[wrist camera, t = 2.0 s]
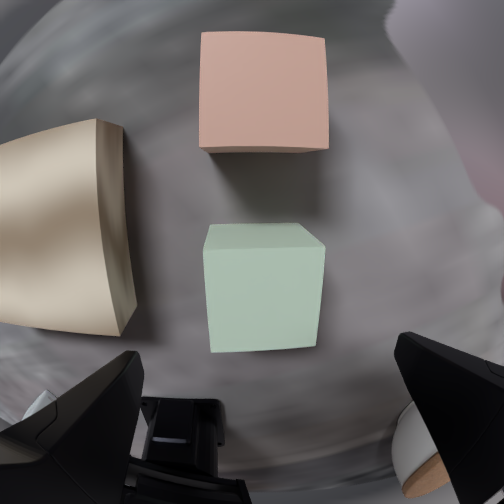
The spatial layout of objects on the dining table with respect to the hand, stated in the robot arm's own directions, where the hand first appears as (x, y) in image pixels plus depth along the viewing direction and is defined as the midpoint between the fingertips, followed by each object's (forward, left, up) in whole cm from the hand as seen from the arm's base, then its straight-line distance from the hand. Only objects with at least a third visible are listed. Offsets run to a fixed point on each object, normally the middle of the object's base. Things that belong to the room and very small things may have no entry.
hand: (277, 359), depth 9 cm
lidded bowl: (-18, -19, -9) cm, 28 cm away
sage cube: (0, 0, -9) cm, 9 cm away
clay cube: (+9, 0, -9) cm, 13 cm away
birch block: (+3, +13, -9) cm, 16 cm away
